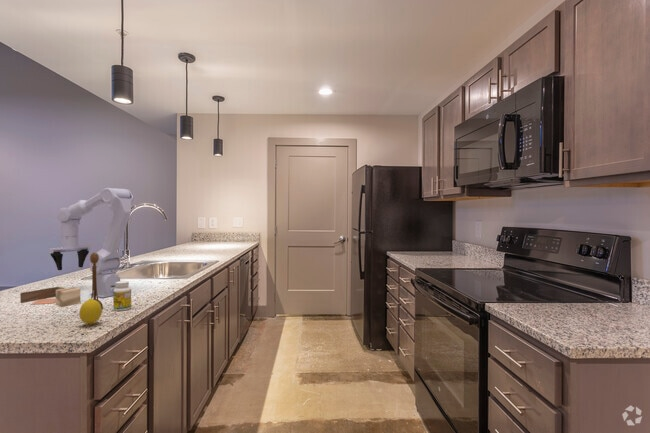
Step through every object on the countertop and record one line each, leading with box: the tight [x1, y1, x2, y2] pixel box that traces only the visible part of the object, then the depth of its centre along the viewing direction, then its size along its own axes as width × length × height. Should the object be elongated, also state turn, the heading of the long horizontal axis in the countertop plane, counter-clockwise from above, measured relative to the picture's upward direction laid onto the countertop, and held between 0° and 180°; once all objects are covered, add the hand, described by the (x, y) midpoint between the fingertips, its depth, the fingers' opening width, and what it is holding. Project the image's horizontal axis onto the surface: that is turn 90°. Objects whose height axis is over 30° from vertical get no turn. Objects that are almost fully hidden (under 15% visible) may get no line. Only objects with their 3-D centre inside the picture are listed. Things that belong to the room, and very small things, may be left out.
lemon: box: [79, 298, 103, 326], centre depth 101 cm, size 6×6×8 cm
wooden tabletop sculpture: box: [89, 252, 104, 310], centre depth 117 cm, size 6×5×20 cm
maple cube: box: [55, 286, 82, 308], centre depth 123 cm, size 6×6×6 cm
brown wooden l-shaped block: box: [19, 286, 66, 304], centre depth 126 cm, size 13×12×4 cm
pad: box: [29, 297, 56, 306], centre depth 126 cm, size 7×7×1 cm
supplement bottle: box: [112, 280, 132, 312], centre depth 117 cm, size 5×5×10 cm
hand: (70, 268), depth 141 cm, fingers open, 7 cm apart
